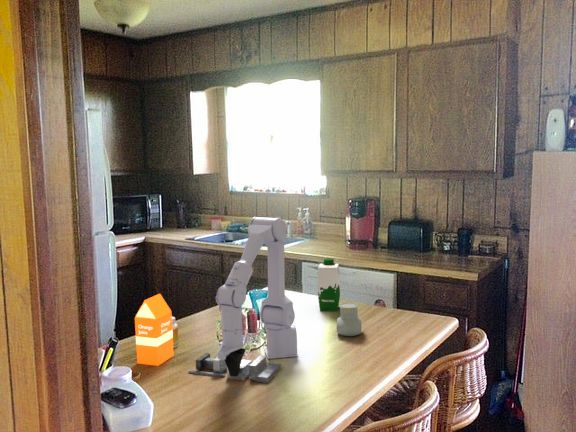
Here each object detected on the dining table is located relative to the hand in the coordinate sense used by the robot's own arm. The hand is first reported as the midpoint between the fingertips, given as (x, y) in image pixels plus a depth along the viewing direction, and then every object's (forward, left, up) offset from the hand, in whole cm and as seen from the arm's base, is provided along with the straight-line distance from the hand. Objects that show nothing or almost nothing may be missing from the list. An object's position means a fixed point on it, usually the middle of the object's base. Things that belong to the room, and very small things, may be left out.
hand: (234, 375), depth 149 cm
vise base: (-1, -7, -2) cm, 7 cm away
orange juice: (+23, -23, -2) cm, 32 cm away
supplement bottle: (+19, -34, -2) cm, 39 cm away
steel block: (-2, -4, -2) cm, 5 cm away
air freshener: (-42, -31, -2) cm, 52 cm away
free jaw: (+5, -11, -1) cm, 12 cm away
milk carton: (-43, -63, -2) cm, 76 cm away
